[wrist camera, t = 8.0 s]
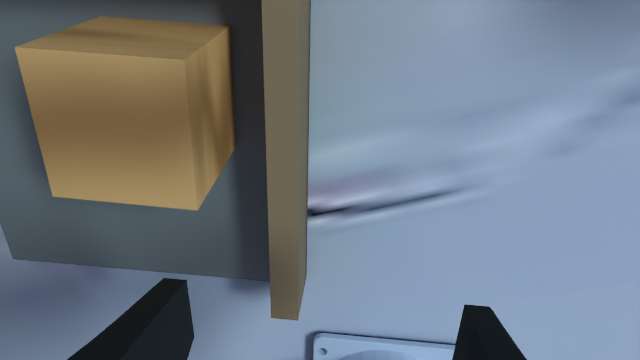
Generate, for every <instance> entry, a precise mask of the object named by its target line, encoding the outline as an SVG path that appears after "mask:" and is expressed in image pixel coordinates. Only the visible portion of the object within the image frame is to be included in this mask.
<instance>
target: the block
mask: <svg viewBox="0 0 640 360" xmlns="http://www.w3.org/2000/svg"><path fill="white" fill-rule="evenodd" d="M15 51H16V55H17V59H18V63H19V66H20V70H21V74H22V78H23V82H24V86H25V90H26V94H27V98H28V102H29V106H30V110H31V114H32V117H33V121H34V125H35V129H36V133H37V137H38V141H39V145H40V149H41V153H42V157H43V161H44V165H45V168H46V172H47V176H48V180H49V184H50V188H51V192H52V196H53V197H62V198H73V199H83V200H93V201H104V202H114V203H125V204H135V205H146V206H156V207H166V208H177V209H187V210H198V209H199V207H200V206H201V204H202V202H203V201H204V199H205V197H206V196H207V194H208V193H209V191H210V189H211V188H212V186H213V184H214V183H215V181H216V179H217V178H218V176H219V174H220V173H221V171H222V169H223V168H224V166H225V164H226V163H227V161H228V160H229V158H230V156H231V155H232V153H233V151H234V150H235V148H236V141H235V116H234V91H233V66H232V41H231V25H219V24H205V23H191V22H176V21H162V20H148V19H134V18H119V17H105V16H100V17H97V18H95V19H92V20H89V21H86V22H83V23H81V24H78V25H75V26H72V27H69V28H67V29H64V30H61V31H58V32H55V33H53V34H50V35H47V36H44V37H42V38H39V39H36V40H33V41H30V42H28V43H25V44H22V45H19V46H16V47H15Z"/></svg>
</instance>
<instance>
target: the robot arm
mask: <svg viewBox="0 0 640 360" xmlns="http://www.w3.org/2000/svg"><path fill="white" fill-rule="evenodd" d="M193 339H194V331H193V324H192V317H191V309H190V302H189V295H188V288H187V280H180V279H169V278H164V279H162V280H161V281H160V282H159V283H158V284H157V285H155V286H154V287H153V288H152V289H151V290H150V291H149V292H147V293H146V294H145V295H144V296H143V297H142V298H141V299H140V300H138V301H137V302H136V303H135V304H134V305H133V306H132V307H131V308H129V309H128V310H127V311H126V312H125V313H124V314H123V315H121V316H120V317H119V318H118V319H117V320H116V321H114V322H113V323H112V324H111V325H110V326H108V327H107V328H106V329H105V330H104V331H103V332H101V333H100V334H99V335H98V336H97V337H95V338H94V339H93V340H92V341H90V342H89V343H88V344H86V345H85V346H84V347H83V348H81V349H80V350H79V351H77V352H76V353H75V354H74V355H72V356H71V357H70V358H69V359H67V360H187V358H188V355H189V352H190V349H191V345H192V342H193ZM320 348H324V349H320ZM313 360H527V359H526V358H525V357H524V355H523V354H522V353H521V351H520V350H519V348H518V347H517V345H516V344H515V343H514V341H513V340H512V338H511V337H510V335H509V334H508V333H507V331H506V330H505V328H504V327H503V325H502V324H501V322H500V321H499V319H498V318H497V316H496V315H495V313H494V312H493V310H492V309H491V308H490V307H486V306H475V305H464V310H463V314H462V318H461V323H460V327H459V332H458V336H457V341H456V345H445V344H435V343H424V342H414V341H403V340H392V339H382V338H371V337H361V336H350V335H340V334H329V333H319V334H317V335H316V336H315V337H314V343H313Z"/></svg>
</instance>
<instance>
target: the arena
mask: <svg viewBox="0 0 640 360" xmlns="http://www.w3.org/2000/svg"><path fill="white" fill-rule="evenodd" d="M310 10H311V0H0V223H1V225H2V228H3V231H4V234H5V237H6V240H7V243H8V245H9V248H10V251H11V254H12V257H13V259H19V260H30V261H42V262H53V263H65V264H76V265H88V266H99V267H111V268H122V269H134V270H145V271H156V272H168V273H179V274H191V275H202V276H214V277H225V278H237V279H248V280H260V281H270V296H271V318H278V319H289V320H298V317H299V312H300V306H301V301H302V296H303V291H304V286H305V280H306V260H307V197H308V135H309V72H310ZM100 16H105V17H119V18H134V19H148V20H162V21H176V22H191V23H205V24H219V25H231V41H232V66H233V91H234V116H235V141H236V148H235V150H234V151H233V153H232V155H231V156H230V158H229V160H228V161H227V163H226V164H225V166H224V168H223V169H222V171H221V173H220V174H219V176H218V178H217V179H216V181H215V183H214V184H213V186H212V188H211V189H210V191H209V193H208V194H207V196H206V197H205V199H204V201H203V202H202V204H201V206H200V207H199V209H198V210H187V209H177V208H166V207H156V206H146V205H135V204H125V203H114V202H104V201H93V200H83V199H73V198H62V197H53V196H52V192H51V188H50V184H49V180H48V176H47V172H46V168H45V165H44V161H43V157H42V153H41V149H40V145H39V141H38V137H37V133H36V129H35V125H34V121H33V117H32V114H31V110H30V106H29V102H28V98H27V94H26V90H25V86H24V82H23V78H22V74H21V70H20V66H19V63H18V59H17V55H16V51H15V47H16V46H19V45H22V44H25V43H28V42H30V41H33V40H36V39H39V38H42V37H44V36H47V35H50V34H53V33H55V32H58V31H61V30H64V29H67V28H69V27H72V26H75V25H78V24H81V23H83V22H86V21H89V20H92V19H95V18H97V17H100Z"/></svg>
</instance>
